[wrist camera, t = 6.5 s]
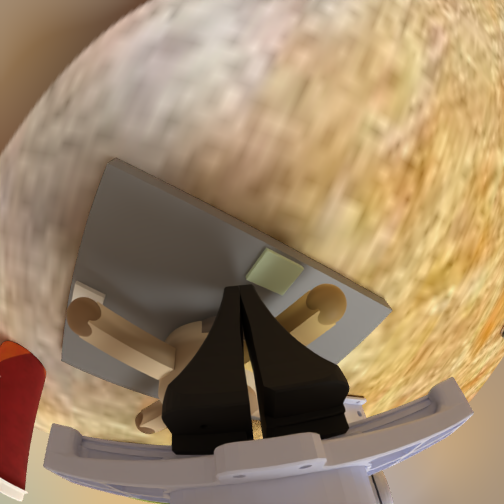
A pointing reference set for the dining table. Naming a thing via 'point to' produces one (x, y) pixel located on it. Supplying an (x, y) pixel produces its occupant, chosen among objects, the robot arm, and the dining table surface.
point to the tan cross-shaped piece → (191, 341)
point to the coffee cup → (17, 414)
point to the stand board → (189, 272)
